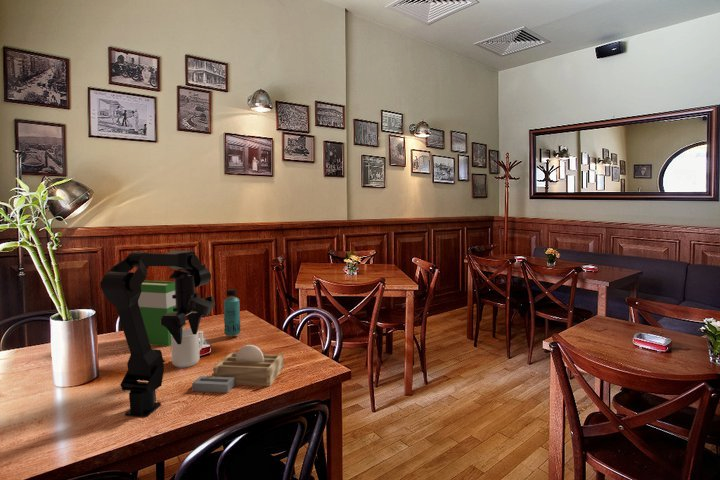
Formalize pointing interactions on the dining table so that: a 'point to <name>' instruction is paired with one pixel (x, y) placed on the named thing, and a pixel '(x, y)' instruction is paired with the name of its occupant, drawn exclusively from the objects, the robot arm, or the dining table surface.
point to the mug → (186, 349)
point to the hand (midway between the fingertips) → (187, 339)
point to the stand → (213, 384)
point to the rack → (250, 369)
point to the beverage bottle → (232, 313)
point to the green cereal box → (156, 309)
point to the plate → (250, 354)
